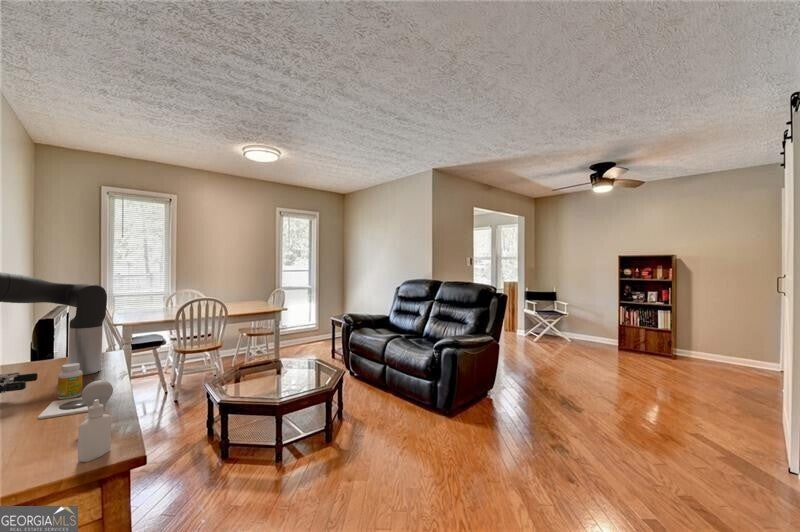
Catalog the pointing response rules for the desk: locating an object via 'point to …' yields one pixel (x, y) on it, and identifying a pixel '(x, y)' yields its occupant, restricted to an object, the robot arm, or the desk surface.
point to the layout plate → (64, 408)
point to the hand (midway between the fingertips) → (31, 380)
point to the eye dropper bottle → (94, 434)
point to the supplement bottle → (70, 381)
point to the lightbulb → (97, 393)
